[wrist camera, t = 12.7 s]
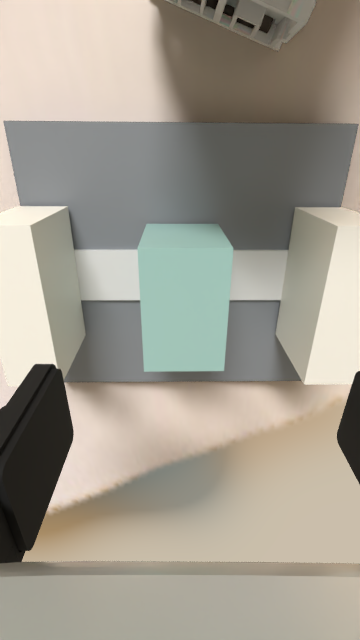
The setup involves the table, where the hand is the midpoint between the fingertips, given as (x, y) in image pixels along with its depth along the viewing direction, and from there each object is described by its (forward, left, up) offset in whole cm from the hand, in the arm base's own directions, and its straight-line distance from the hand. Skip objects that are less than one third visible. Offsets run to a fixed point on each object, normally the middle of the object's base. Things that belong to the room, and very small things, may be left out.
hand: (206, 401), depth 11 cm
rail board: (+1, 0, -15) cm, 15 cm away
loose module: (0, 0, -13) cm, 13 cm away
